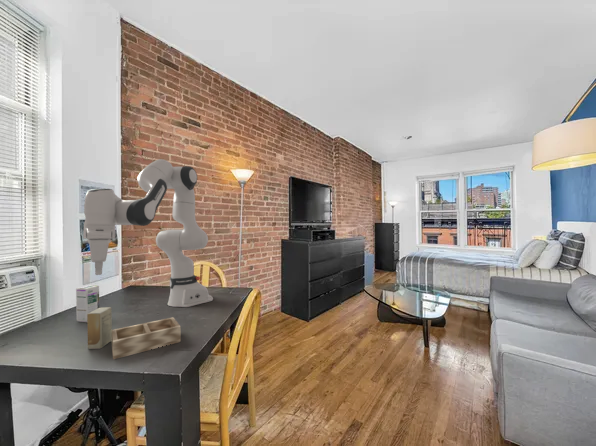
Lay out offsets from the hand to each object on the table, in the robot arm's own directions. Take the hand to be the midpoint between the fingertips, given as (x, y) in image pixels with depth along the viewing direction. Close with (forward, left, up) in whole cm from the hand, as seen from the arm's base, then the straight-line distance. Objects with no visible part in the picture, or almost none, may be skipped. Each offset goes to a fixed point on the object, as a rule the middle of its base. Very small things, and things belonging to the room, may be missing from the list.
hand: (98, 272), depth 91 cm
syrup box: (+4, -32, -25) cm, 40 cm away
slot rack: (-13, +10, -25) cm, 30 cm away
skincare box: (0, +1, -25) cm, 25 cm away
